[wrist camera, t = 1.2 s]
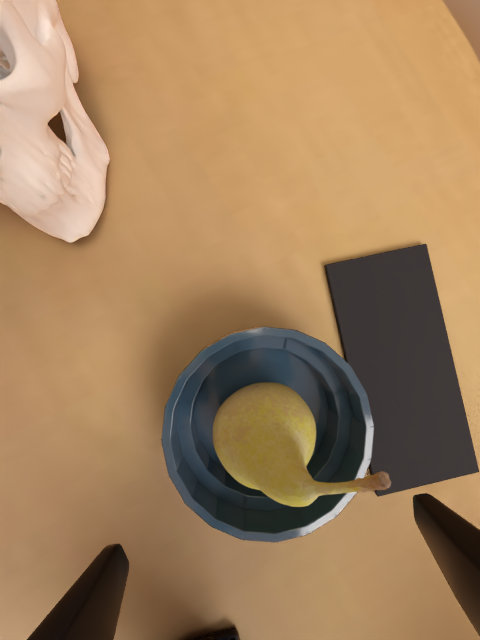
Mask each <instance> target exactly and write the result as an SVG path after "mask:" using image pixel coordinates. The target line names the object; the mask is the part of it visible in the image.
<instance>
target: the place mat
mask: <svg viewBox="0 0 480 640" xmlns="http://www.w3.org/2000/svg"><path fill="white" fill-rule="evenodd" d="M325 271H326V275H327V280H328V284H329V288H330V293H331V297H332V302H333V306H334V311H335V315H336V320H337V324H338V329H339V333H340V338H341V342H342V347H343V351H344V355H345V360H346V362H347V363H348V364H349V365H350V366H351V368H352V369H353V371H354V373H355V374H356V376H357V378H358V379H359V381H360V383H361V385H362V386H363V388H364V390H365V391H366V394H367V397H368V401H369V406H370V410H371V414H372V419H373V423H374V434H373V446H372V458H371V462H370V464H369V467H370V472H371V475H374V474H376V473H378V472H381V471H384V472H386V473H388V474H389V479H390V481H391V485H390V487H389V488H388V489H386V490H375V494H376V495H377V496H382V495H386V494H390V493H394V492H398V491H402V490H406V489H411V488H415V487H419V486H423V485H427V484H431V483H435V482H439V481H443V480H448V479H452V478H456V477H460V476H464V475H468V474H472V473H476V472H479V469H478V465H477V461H476V456H475V452H474V448H473V443H472V439H471V435H470V430H469V426H468V422H467V417H466V413H465V409H464V405H463V400H462V396H461V392H460V387H459V383H458V379H457V374H456V370H455V366H454V361H453V357H452V353H451V349H450V344H449V340H448V336H447V331H446V327H445V323H444V318H443V314H442V310H441V305H440V301H439V297H438V292H437V288H436V284H435V280H434V275H433V271H432V267H431V262H430V258H429V254H428V249H427V245H426V244H422V245H417V246H413V247H408V248H403V249H398V250H394V251H389V252H384V253H379V254H375V255H370V256H365V257H360V258H356V259H351V260H346V261H342V262H337V263H332V264H327V265H325Z"/></svg>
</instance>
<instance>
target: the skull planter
mask: <svg viewBox="0 0 480 640" xmlns="http://www.w3.org/2000/svg"><path fill="white" fill-rule="evenodd" d="M78 77H79V72H78V65H77V61H76V56H75V52H74V49H73V45H72V43H71V40H70V38H69V36H68V33H67V31H66V29H65V27H64V24H63V22H62V19H61V15H60V12H59V9H58V5H57V2H56V0H0V203H2V204H4V205H7V206H8V207H10V208H11V209H12V210H13V211H14V212H15V213H17V214H18V215H19V216H20V217H22V218H23V219H24V220H26V221H27V222H28V223H30V224H31V225H33V226H35V227H36V228H38V229H40V230H42V231H43V232H45V233H47V234H49V235H51V236H54V237H57V238H60V239H63V240H65V241H66V242H69V243H72V242H74V241H76V240H78V239H79V238H81V237H85V236H88V235H89V234H90V232H91V231H92V230H93V228H94V226H95V225H96V223H97V221H98V220H99V217H100V215H101V213H102V211H103V208H104V204H105V198H106V196H105V189H106V188H105V185H106V172H107V166H108V164H109V162H110V158H109V153H108V149H107V147H106V145H105V143H104V141H103V140H102V138H101V136H100V135H99V133H98V132H97V130H96V128H95V127H94V125H93V123H92V122H91V120H90V118H89V117H88V115H87V113H86V112H85V110H84V108H83V106H82V104H81V102H80V100H79V98H78V96H77V93H76V91H75V88H74V86H73V83H77V82H78ZM59 111H60V114H61V117H62V121H63V126H64V132H65V135H66V144H65V143H64V142H63V141H62V140H60V139H59V138H58V137H57V136H56V135H55V134H54V133H53V131H52V130H51V128H50V127H49V126H48V122H49V121H50V120H51V119H52V118H53V117H54V116H55V115H57V114H58V112H59Z"/></svg>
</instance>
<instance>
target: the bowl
mask: <svg viewBox="0 0 480 640" xmlns="http://www.w3.org/2000/svg"><path fill="white" fill-rule="evenodd" d="M261 382H274V383H280V384H283V385H286V386H288V387H289V388H291V389H293V390H294V391H295V392H296V393H297V394H298V395H299V396H300V397H301V398H302V399H303V400H304V402H305V403H306V404H307V406H308V407H309V409H310V411H311V412H312V414H313V417H314V420H315V425H316V442H315V447H314V451H313V454H312V456H311V459H310V460H309V462H308V464H307V466H306V468H307V471H308V473H309V474H310V475H311V477H312V479H313V480H315V481H317V482H325V483H340V482H348V481H353V480H355V479H357V478H364V476H365V474H366V471H367V469H368V467H369V464H370V462H371V458H372V446H373V434H374V423H373V419H372V414H371V410H370V406H369V401H368V397H367V394H366V391H365V390H364V388H363V386H362V385H361V383H360V381H359V379H358V378H357V376H356V374H355V373H354V371H353V369H352V368H351V366H350V365H349V364H348V363H347V362H346V361H345V360H344V359H343V358H342V357H340V356H339V355H338V354H337V353H336V352H335V351H334V350H333V349H332V348H330V347H329V346H328V345H327V344H325V343H324V342H322V341H320V340H317V339H315V338H313V337H311V336H308V335H306V334H304V333H302V332H299V331H297V330H292V329H282V328H272V327H252V328H248V329H243V330H239V331H234V332H231V333H229V334H227V335H225V336H224V337H222V338H220V339H218V340H217V341H215V342H213V343H212V344H210V345H208V346H207V347H206V348H204V349H203V350H202V351H201V352H200V353H199V354H198V355H197V356H196V357H195V358H194V359H193V360H192V362H191V363H190V364H189V365H188V366H187V367H186V368H185V369H184V371H183V372H182V373H181V374H180V375H179V377H178V379H177V381H176V383H175V386H174V388H173V390H172V392H171V395H170V397H169V399H168V401H167V404H166V406H165V412H164V421H163V430H162V439H161V440H162V446H163V451H164V456H165V461H166V465H167V470H168V474H169V477H170V478H171V480H172V482H173V483H174V485H175V487H176V489H177V490H178V492H179V494H180V496H181V497H182V499H183V501H184V503H185V504H186V505H187V506H188V507H189V508H191V509H192V510H193V511H194V512H195V513H196V514H197V515H198V516H200V517H201V518H202V519H203V520H204V521H205V522H206V523H207V524H209V525H210V526H211V527H213V528H215V529H218V530H220V531H222V532H225V533H227V534H229V535H232V536H234V537H236V538H239V539H242V540H250V541H263V542H280V541H284V540H288V539H292V538H296V537H300V536H304V535H308V534H310V533H311V532H313V531H315V530H316V529H318V528H319V527H321V526H323V525H324V524H326V523H327V522H329V521H331V520H332V519H334V518H335V517H336V516H338V515H339V513H340V512H341V511H342V510H343V509H344V507H345V506H346V505H347V504H348V503H349V502H350V500H351V499H352V498H353V497H354V496H355V494H356V493H357V492H353V493H341V494H327V495H321V496H318V497H317V499H316V500H315V501H314V502H313V503H311V504H310V505H308V506H304V507H292V506H288V505H284V504H281V503H279V502H277V501H275V500H273V499H271V498H270V497H268V496H267V495H266V494H264V493H263V492H262V491H261V490H256V489H252V488H249V487H247V486H244V485H243V484H241V483H239V482H238V481H237V480H235V479H234V478H233V477H232V476H231V475H230V474H229V473H228V471H227V470H226V469H225V467H224V466H223V465H222V463H221V461H220V459H219V458H218V456H217V453H216V451H215V448H214V444H213V423H214V419H215V416H216V413H217V411H218V409H219V408H220V407H221V405H222V404H223V403H224V401H225V400H226V399H227V398H228V397H230V396H231V395H232V394H233V393H235V392H236V391H238V390H239V389H241V388H243V387H245V386H248V385H251V384H254V383H261Z"/></svg>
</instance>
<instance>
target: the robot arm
mask: <svg viewBox="0 0 480 640" xmlns="http://www.w3.org/2000/svg"><path fill="white" fill-rule="evenodd" d="M413 508H414V518H415V521H416V524H417V526H418V528H419V530H420V532H421V533H422V535H423V537H424V539H425V541H426V543H427V545H428V547H429V548H430V550H431V552H432V554H433V556H434V558H435V560H436V562H437V564H438V565H439V567H440V569H441V571H442V573H443V575H444V577H445V579H446V580H447V582H448V584H449V586H450V588H451V590H452V592H453V593H454V595H455V597H456V599H457V600H458V602H459V604H460V605H461V607H462V609H463V610H464V612H465V614H466V615H467V617H468V618H469V620H470V621H471V623H472V625H473V626H474V628H475V629H476V631H477V633H478V634H479V636H480V530H479V529H478V528H476V527H475V526H473V525H472V524H471V523H469V522H468V521H466V520H465V519H464V518H462V517H461V516H459V515H458V514H457V513H455V512H454V511H452V510H451V509H450V508H448V507H447V506H445V505H444V504H443V503H441V502H440V501H438V500H437V499H436V498H434V497H433V496H431V495H430V494H426V493H425V494H419V495H414V497H413ZM128 571H129V561H128V559H127V556H126V554H125V552H124V550H123V548H122V546H121V545H120V544H112V545H108V546H106V547H105V548H104V549H103V550H102V551H101V552H100V554H99V555H98V556H97V557H96V558H95V559H94V561H93V562H92V563H91V564H90V565H89V567H88V568H87V569H86V570H85V571H84V572H83V574H82V575H81V576H80V577H79V578H78V580H77V581H76V582H75V583H74V584H73V586H72V587H71V588H70V589H69V590H68V591H67V593H66V594H65V595H64V596H63V597H62V599H61V600H60V601H59V602H58V603H57V604H56V606H55V607H54V608H53V609H52V610H51V612H50V613H49V614H48V615H47V616H46V618H45V619H44V620H43V621H42V622H41V623H40V625H39V626H38V627H37V628H36V629H35V631H34V632H33V633H32V634H31V635H30V636H29V638H28V639H27V640H113V639H114V635H115V631H116V626H117V622H118V617H119V613H120V608H121V603H122V599H123V594H124V590H125V585H126V581H127V576H128ZM190 640H240V638H239V634H238V631H237V630H236V629H229V630H225V631H221V632H217V633H213V634H209V635H205V636H201V637H198V638H194V639H190Z"/></svg>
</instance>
